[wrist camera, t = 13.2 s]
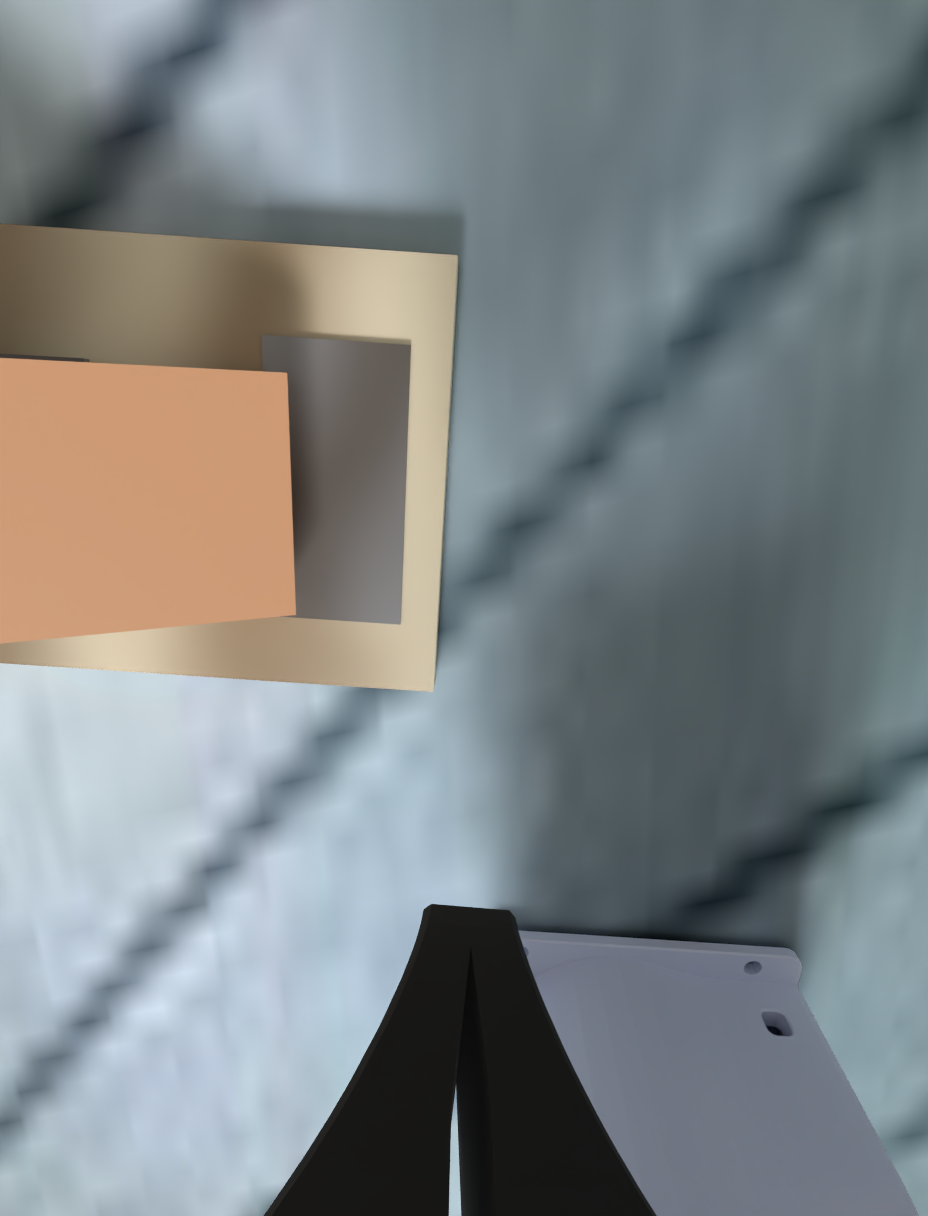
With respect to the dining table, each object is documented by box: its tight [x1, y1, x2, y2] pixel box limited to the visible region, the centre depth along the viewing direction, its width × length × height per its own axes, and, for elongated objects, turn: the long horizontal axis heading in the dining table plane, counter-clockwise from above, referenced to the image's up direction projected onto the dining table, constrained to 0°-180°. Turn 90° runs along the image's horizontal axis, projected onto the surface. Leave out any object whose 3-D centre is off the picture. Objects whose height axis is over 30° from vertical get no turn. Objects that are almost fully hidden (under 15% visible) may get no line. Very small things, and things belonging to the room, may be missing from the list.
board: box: [0, 224, 459, 692], centre depth 16 cm, size 21×10×1 cm, turn 86°
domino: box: [0, 358, 296, 644], centre depth 13 cm, size 2×5×9 cm
